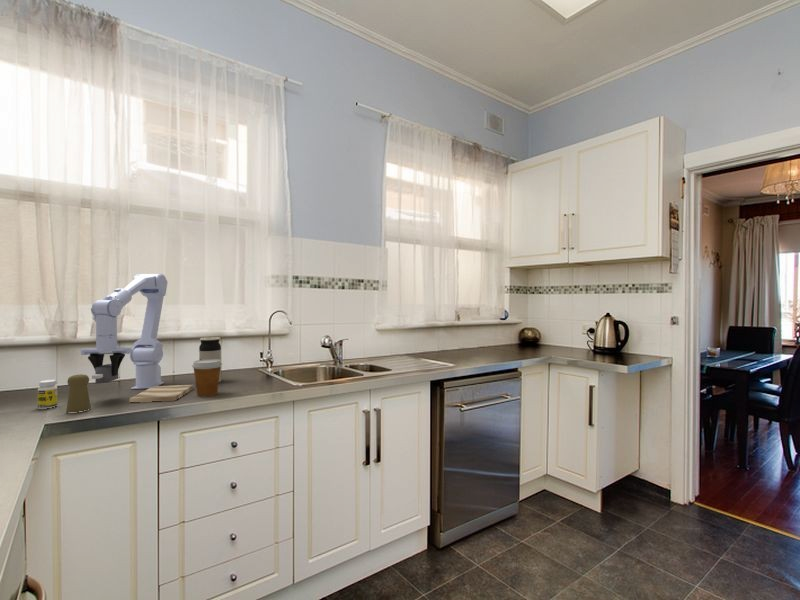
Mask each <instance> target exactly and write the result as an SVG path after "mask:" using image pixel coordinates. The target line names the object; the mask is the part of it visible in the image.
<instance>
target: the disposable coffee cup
mask: <svg viewBox="0 0 800 600" xmlns="http://www.w3.org/2000/svg"><path fill="white" fill-rule="evenodd" d="M222 363H223V362H222V360H221V361H220V360H218V359H206V360H199V359H198V360H194V361H193V364H192V365H191V367H192V369H193V371H194V374H193V375H194V380H195V388H196V394H197V397H199V396H208V397H213V395H214V396H216V395H218V389H219V383H220V382H219V375H220V367H221V368H222V365H223V364H222Z"/></svg>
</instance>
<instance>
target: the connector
mask: <svg viewBox="0 0 800 600" xmlns="http://www.w3.org/2000/svg"><path fill="white" fill-rule="evenodd" d="M94 372H95V374H93V375H91V379H92V380H95V384H105V383H106V384H107V383H110V382H113V381H116V380H117V379H119V373H118V374H117V375H115V376H112V365H111V363H106V364H103V365H102V366H98V367H95V369H94Z"/></svg>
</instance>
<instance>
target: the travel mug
mask: <svg viewBox="0 0 800 600" xmlns="http://www.w3.org/2000/svg"><path fill="white" fill-rule="evenodd" d="M220 340H221V337H217V336H214V337H213V336H212V337H211V336H210V337H200V338H199V341H200V345H199V348H198V352H199V357H198V358H199V359H198V360H206V359H218V360H220V361H221V362H222V345H221V343H220ZM221 381H222V366H221V367H220V375H219V383H220V382H221Z"/></svg>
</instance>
